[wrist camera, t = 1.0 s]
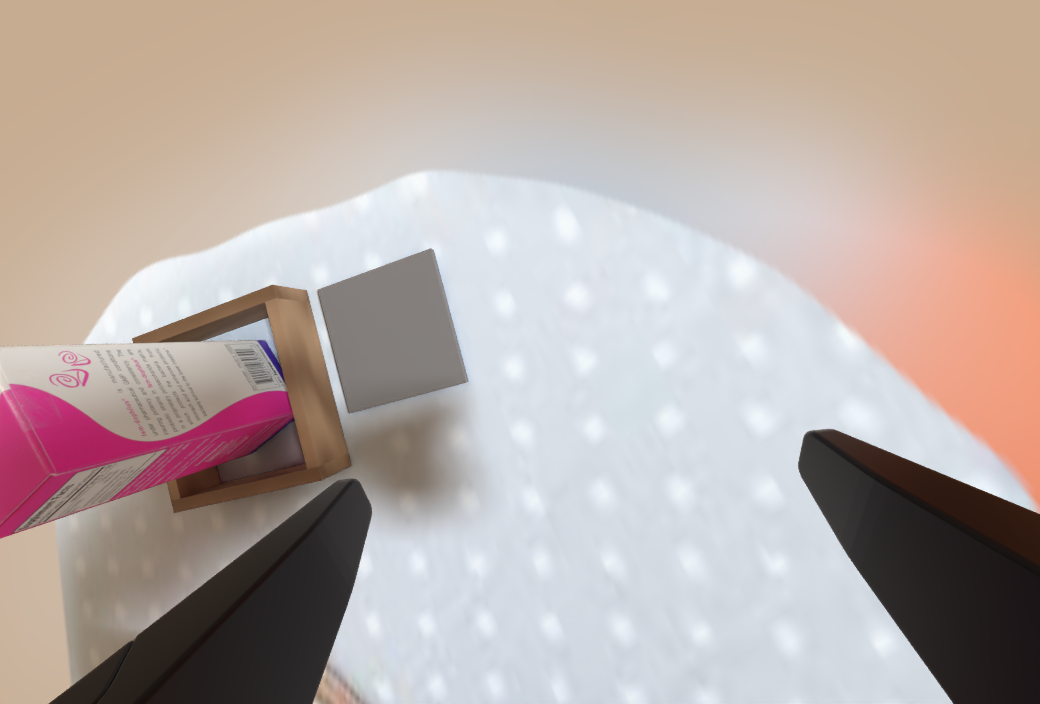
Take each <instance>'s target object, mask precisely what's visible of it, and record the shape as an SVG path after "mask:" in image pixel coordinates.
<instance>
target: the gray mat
mask: <svg viewBox="0 0 1040 704" xmlns="http://www.w3.org/2000/svg"><path fill="white" fill-rule="evenodd" d="M318 293H319V297H320V301H321V305H322V308H323V312H324V316H325V320H326V324H327V328H328V332H329V336H330V340H331V344H332V348H333V351H334V355H335V359H336V363H337V367H338V371H339V375H340V379H341V383H342V387H343V390H344V394H345V398H346V402H347V406H348V410H349V413H353V412H357V411H361V410H365V409H368V408H372V407H376V406H380V405H383V404H387V403H391V402H395V401H398V400H402V399H406V398H410V397H413V396H417V395H421V394H425V393H429V392H432V391H436V390H440V389H444V388H447V387H451V386H455V385H459V384H462V383H466V382H468V378H467V374H466V370H465V366H464V363H463V359H462V355H461V351H460V348H459V344H458V340H457V336H456V333H455V329H454V325H453V321H452V318H451V314H450V310H449V306H448V302H447V299H446V295H445V291H444V287H443V284H442V280H441V276H440V272H439V269H438V265H437V261H436V257H435V253H434V250H432V249H428V250H425V251H422V252H420V253H417V254H414V255H411V256H409V257H406V258H403V259H401V260H398V261H395V262H392V263H390V264H387V265H384V266H381V267H379V268H376V269H373V270H370V271H368V272H365V273H362V274H360V275H357V276H354V277H351V278H349V279H346V280H343V281H340V282H338V283H335V284H332V285H330V286H327V287H324V288H321V289H319V290H318Z"/></svg>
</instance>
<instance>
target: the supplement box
mask: <svg viewBox="0 0 1040 704" xmlns="http://www.w3.org/2000/svg"><path fill="white" fill-rule="evenodd" d="M293 420H294V416H293V412H292V408H291V404H290V400H289V396H288V392H287V388H286V384H285V380H284V376H283V372H282V368H281V366H280V364H279V363H278V361H277V359H276V358H275V356H274V354H273V353H272V351H271V349H270V348H269V346H268V344H267V343H266V341H265V340H244V341H203V342H165V343H129V344H85V345H42V346H1V347H0V538H3V537H6V536H9V535H12V534H15V533H18V532H21V531H24V530H27V529H30V528H33V527H36V526H39V525H42V524H45V523H48V522H51V521H54V520H57V519H60V518H63V517H65V516H68V515H71V514H74V513H77V512H80V511H83V510H86V509H89V508H92V507H95V506H98V505H101V504H104V503H107V502H110V501H113V500H116V499H119V498H122V497H125V496H128V495H131V494H133V493H136V492H139V491H142V490H145V489H148V488H151V487H154V486H156V485H159V484H162V483H165V482H168V481H171V480H174V479H177V478H180V477H183V476H186V475H189V474H192V473H195V472H198V471H201V470H204V469H207V468H210V467H213V466H216V465H219V464H222V463H225V462H228V461H231V460H234V459H237V458H240V457H243V456H246V455H249V454H251V453H253V452H254V451H256V450H257V449H258V448H259V447H261V446H262V445H263V444H264V443H266V442H267V441H268V440H269V439H271V438H272V437H273V436H274V435H276V434H277V433H278V432H279V431H281V430H282V429H283V428H284V427H286V426H287V425H288V424H289V423H291V422H292V421H293Z"/></svg>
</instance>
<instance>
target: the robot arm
mask: <svg viewBox="0 0 1040 704" xmlns="http://www.w3.org/2000/svg"><path fill="white" fill-rule="evenodd" d="M798 468H799V472H800V475H801V477H802V479H803V481H804V482H805V484H806V486H807V487H808V489H809V491H810V493H811V494H812V496H813V498H814V499H815V501H816V503H817V505H818V506H819V508H820V510H821V511H822V513H823V515H824V516H825V518H826V520H827V522H828V523H829V525H830V527H831V528H832V530H833V532H834V534H835V535H836V537H837V539H838V540H839V542H840V544H841V545H842V547H843V549H844V550H845V552H846V553H847V555H848V557H849V558H850V559H851V561H852V562H853V564H854V565H855V567H856V568H857V570H858V571H859V573H860V574H861V575H862V577H863V578H864V579H865V581H866V582H867V584H868V585H869V586H870V588H871V589H872V591H873V592H874V593H875V595H876V596H877V598H878V599H879V600H880V602H881V603H882V605H883V606H884V607H885V609H886V610H887V612H888V613H889V614H890V616H891V617H892V619H893V620H894V621H895V623H896V624H897V626H898V627H899V628H900V630H901V631H902V633H903V634H904V635H905V637H906V638H907V639H908V641H909V642H910V644H911V645H912V646H913V648H914V649H915V651H916V652H917V653H918V655H919V656H920V658H921V659H922V660H923V662H924V663H925V665H926V666H927V667H928V669H929V670H930V672H931V673H932V674H933V676H934V677H935V679H936V680H937V681H938V683H939V684H940V686H941V687H942V688H943V690H944V691H945V693H946V694H947V695H948V697H949V698H950V700H951V701H952V702H953V704H1040V514H1038V513H1036V512H1033V511H1031V510H1028V509H1026V508H1024V507H1021V506H1019V505H1016V504H1014V503H1012V502H1009V501H1007V500H1004V499H1002V498H999V497H997V496H995V495H992V494H990V493H987V492H985V491H982V490H980V489H978V488H975V487H973V486H970V485H968V484H965V483H963V482H961V481H958V480H956V479H953V478H951V477H948V476H946V475H944V474H941V473H939V472H936V471H934V470H931V469H929V468H927V467H924V466H922V465H919V464H917V463H914V462H912V461H910V460H907V459H905V458H902V457H900V456H897V455H895V454H893V453H890V452H888V451H885V450H883V449H881V448H878V447H876V446H873V445H871V444H868V443H866V442H864V441H861V440H859V439H856V438H854V437H851V436H849V435H847V434H844V433H842V432H839V431H837V430H834V429H821V430H812V431H808V432H807V433H806V434H805V435H804V438H803V443H802V447H801V452H800V457H799V462H798ZM371 516H372V508H371V504H370V502H369V500H368V498H367V496H366V494H365V491H364V489H363V487H362V485H361V483H360V482H359V481H358V480H357V479H346V480H339V481H336V482H335V483H333V484H332V485H331V486H330V487H328V488H327V489H326V490H324V491H323V492H322V493H321V494H319V495H318V496H317V497H315V498H314V499H313V500H312V501H310V502H309V503H308V504H306V505H305V506H304V507H302V508H301V509H300V510H299V511H297V512H296V513H295V514H293V515H292V516H291V517H290V518H288V519H287V520H286V521H284V522H283V523H282V524H281V525H279V526H278V527H277V528H275V529H274V530H273V531H272V532H270V533H269V534H268V535H266V536H265V537H264V538H263V539H261V540H260V541H259V542H257V543H256V544H255V545H254V546H252V547H251V548H250V549H248V550H247V551H246V552H245V553H243V554H242V555H241V556H239V557H238V558H237V559H236V560H234V561H233V562H232V563H230V564H229V565H228V566H226V567H225V568H224V569H223V570H221V571H220V572H219V573H217V574H216V575H215V576H214V577H212V578H211V579H210V580H208V581H207V582H206V583H205V584H203V585H202V586H201V587H199V588H198V589H197V590H196V591H194V592H193V593H192V594H190V595H189V596H188V597H187V598H185V599H184V600H183V601H181V602H180V603H179V604H178V605H176V606H175V607H174V608H172V609H171V610H170V611H169V612H167V613H166V614H165V615H163V616H162V617H161V618H159V619H158V620H157V621H156V622H154V623H153V624H152V625H150V626H149V627H148V628H147V629H145V630H144V631H143V632H141V633H140V634H139V635H138V636H137V637H136V638H135V640H134V641H130V642H128V643H127V644H126V645H125V646H123V647H122V648H121V649H119V650H118V651H117V652H116V653H114V654H113V655H112V656H110V657H109V658H108V659H107V660H105V661H104V662H103V663H101V664H100V665H99V666H98V667H96V668H95V669H94V670H92V671H91V672H90V673H88V674H87V675H86V676H84V677H83V678H82V679H80V680H79V681H78V682H77V683H75V684H74V685H73V686H71V687H70V688H69V689H67V690H66V691H65V692H64V693H62V694H61V695H59V696H58V697H57V698H56V699H54V700H53V701H52V702H50V703H49V704H313V701H314V698H315V695H316V693H317V690H318V687H319V684H320V681H321V678H322V676H323V673H324V670H325V667H326V664H327V662H328V659H329V656H330V653H331V650H332V647H333V645H334V642H335V639H336V636H337V633H338V630H339V628H340V625H341V622H342V619H343V616H344V613H345V611H346V608H347V605H348V602H349V599H350V596H351V593H352V590H353V586H354V583H355V579H356V576H357V572H358V568H359V564H360V560H361V556H362V552H363V548H364V544H365V540H366V536H367V532H368V528H369V524H370V520H371Z"/></svg>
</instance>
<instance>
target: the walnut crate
mask: <svg viewBox="0 0 1040 704" xmlns="http://www.w3.org/2000/svg"><path fill="white" fill-rule="evenodd" d="M268 317H269V320H270V324H271V328H272V332H273V336H274V340H275V344H276V348H277V352H278V356H279V360H280V364H281V368H282V372H283V376H284V380H285V384H286V388H287V392H288V396H289V400H290V404H291V408H292V412H293V416H294V419H295V423H296V427H297V431H298V435H299V439H300V443H301V447H302V451H303V455H304V459H305V464H301V465H297V466H292V467H288V468H284V469H280V470H275V471H271V472H267V473H263V474H258V475H254V476H250V477H246V478H242V479H237V480H233V481H229V482H225V483H220V480H219V476H218V471H217V467H216V466H213V467H210V468H207V469H204V470H201V471H198V472H195V473H192V474H189V475H186V476H183V477H180V478H177V479H174V480H171V481H168V482H167V485H168V489H169V493H170V497H171V502H172V506H173V510H174V513H176V512H180V511H185V510H189V509H194V508H198V507H203V506H207V505H212V504H217V503H221V502H226V501H230V500H235V499H239V498H244V497H248V496H253V495H257V494H262V493H266V492H271V491H275V490H280V489H284V488H289V487H294V486H298V485H303V484H307V483H312V482H316V481H321V480H323V479H325V478H327V477H329V476H331V475H333V474H335V473H337V472H339V471H341V470H343V469H345V468H347V467H349V466H351V462H350V458H349V454H348V450H347V447H346V443H345V439H344V435H343V431H342V427H341V423H340V419H339V415H338V411H337V407H336V403H335V400H334V396H333V392H332V388H331V384H330V380H329V376H328V372H327V368H326V364H325V360H324V356H323V352H322V349H321V345H320V341H319V337H318V333H317V329H316V325H315V321H314V317H313V313H312V309H311V305H310V302H309V298H308V294H307V290H301V289H295V288H289V287H282V286H276V285H271V286H268V287H265V288H263V289H260V290H258V291H255V292H252V293H250V294H247V295H245V296H242V297H239V298H237V299H234V300H232V301H229V302H226V303H224V304H221V305H218V306H216V307H213V308H211V309H208V310H205V311H203V312H200V313H198V314H195V315H192V316H190V317H187V318H185V319H182V320H179V321H177V322H174V323H171V324H169V325H166V326H164V327H161V328H158V329H156V330H153V331H151V332H148V333H145V334H143V335H140V336H138V337H135V338H132V340H133V343H165V342H201V341H203V340H206V339H209V338H212V337H215V336H217V335H220V334H223V333H226V332H228V331H231V330H234V329H237V328H240V327H242V326H245V325H248V324H251V323H254V322H256V321H259V320H262V319H265V318H268Z"/></svg>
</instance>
